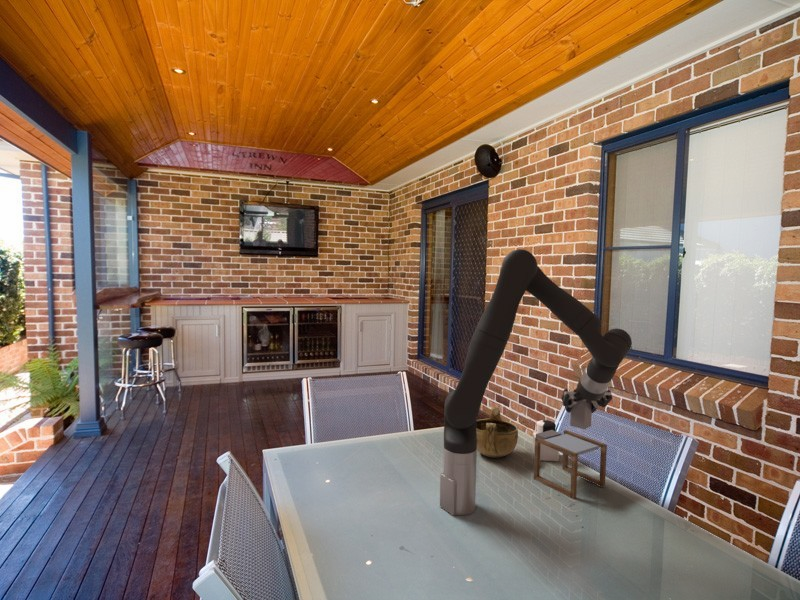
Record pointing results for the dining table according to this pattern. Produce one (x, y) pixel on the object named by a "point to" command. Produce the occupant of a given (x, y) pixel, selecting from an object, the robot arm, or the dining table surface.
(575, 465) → the frame
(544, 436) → the trapdoor
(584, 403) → the stone
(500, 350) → the robot arm
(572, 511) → the dining table surface
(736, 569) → the dining table surface
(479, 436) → the ceramic bowl
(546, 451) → the container
